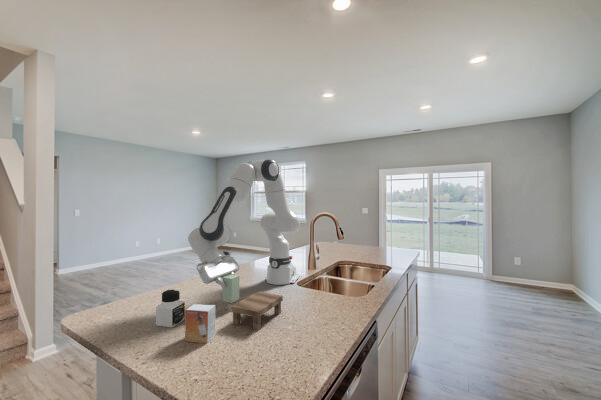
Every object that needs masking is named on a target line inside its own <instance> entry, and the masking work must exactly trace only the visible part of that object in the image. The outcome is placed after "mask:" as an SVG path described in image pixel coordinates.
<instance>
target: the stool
mask: <svg viewBox="0 0 601 400" xmlns="http://www.w3.org/2000/svg"><path fill="white" fill-rule="evenodd" d="M283 298H284V297H283V295H281V294H275V293H270V292H262V291H257V292H255V293H253V294H251V295H249V296H247V297H245V298H244V299H241V300H240V301H238V302H237V303H235V304H232V305H231V306H230V312H231V313H232V325H233V326H237V327H238V326H239V325H241V322H242V321H241V320H242V319H241V318H242V315H244V316H250V317H252V319H253V320H252V330H253V331H257V332H258V331H260V330H261V329H262V316H263V315H264V314H266V313H267V312H269V311H270V310H271V309H273V308H274V309H273V311H274V312H273V313H274V315H278V316H279V315H280V314H282V313H281V312H282V302H283V301H284V299H283Z"/></svg>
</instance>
